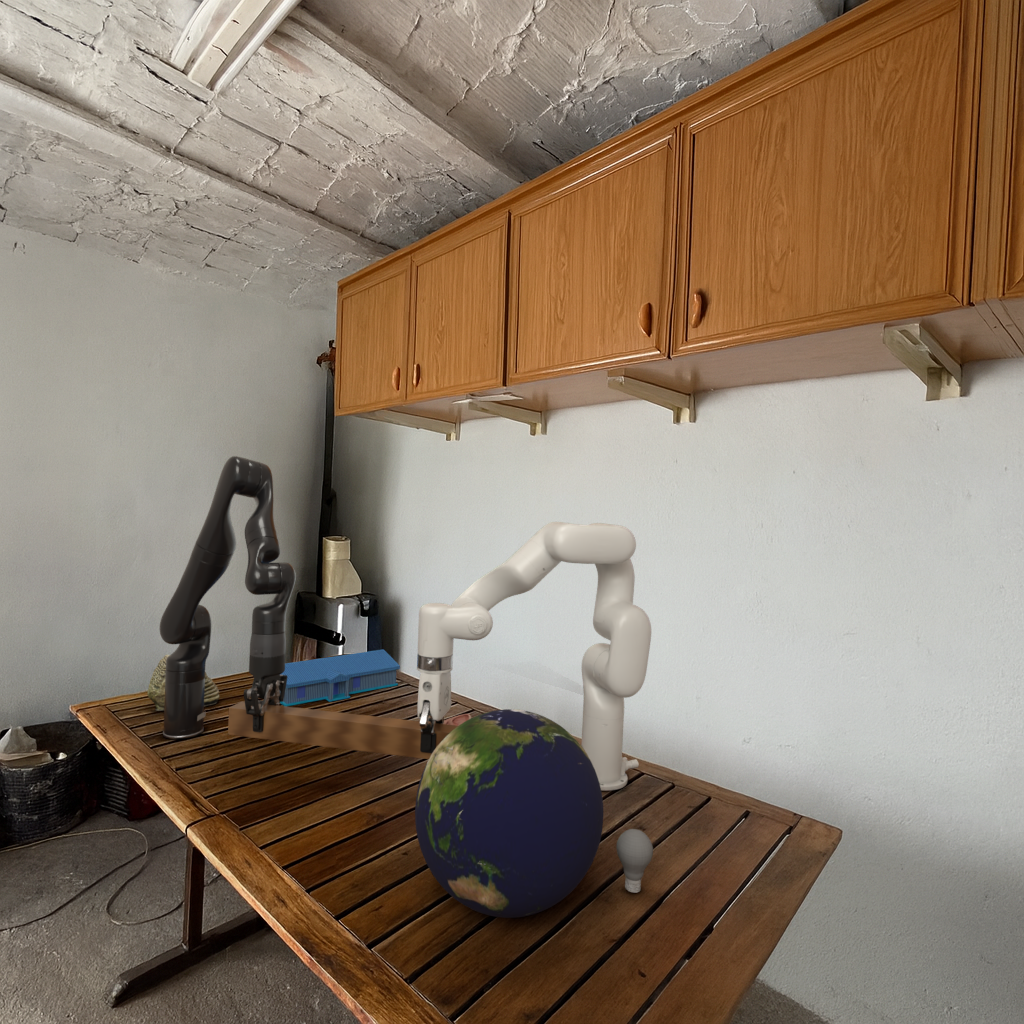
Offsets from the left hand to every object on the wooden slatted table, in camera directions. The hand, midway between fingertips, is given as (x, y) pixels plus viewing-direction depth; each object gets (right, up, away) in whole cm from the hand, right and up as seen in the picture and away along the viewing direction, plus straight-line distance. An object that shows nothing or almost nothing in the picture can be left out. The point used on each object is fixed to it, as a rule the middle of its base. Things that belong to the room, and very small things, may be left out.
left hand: (264, 726), depth 142 cm
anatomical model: (+37, -12, +32) cm, 50 cm away
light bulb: (+76, -15, -36) cm, 85 cm away
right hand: (+38, -2, -7) cm, 39 cm away
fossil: (-41, -9, +43) cm, 60 cm away
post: (+19, -3, -3) cm, 20 cm away
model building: (-4, -10, +66) cm, 67 cm away
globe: (+54, -14, -40) cm, 69 cm away
